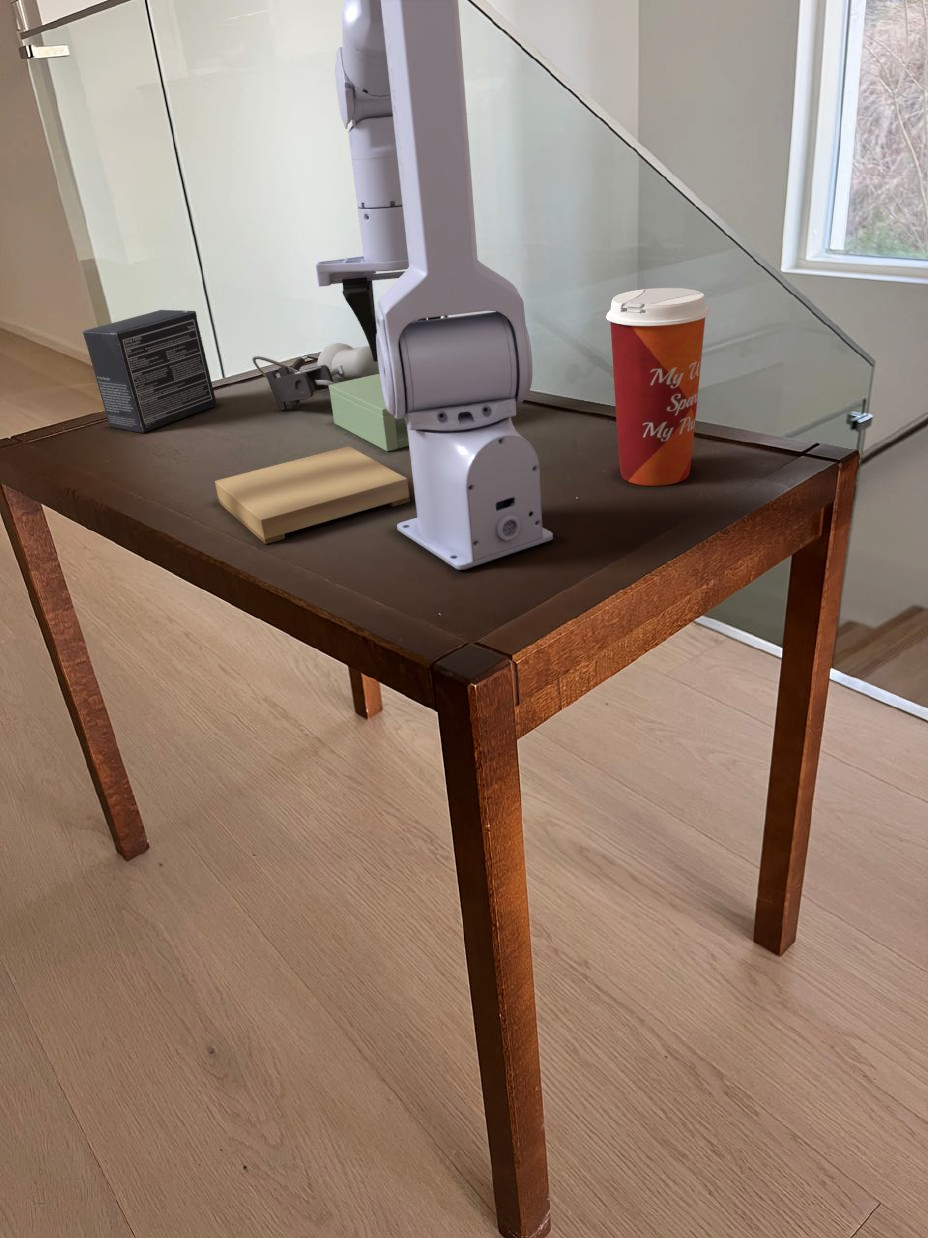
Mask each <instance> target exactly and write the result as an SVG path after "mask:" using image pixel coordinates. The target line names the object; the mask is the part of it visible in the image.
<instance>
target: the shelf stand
mask: <svg viewBox="0 0 928 1238" xmlns="http://www.w3.org/2000/svg"><path fill="white" fill-rule="evenodd" d="M328 391H329V396H330V404H331V410H332V417H333V424H334V425H337V426H339V427H340V428H342V429H344V430H346V431H347V432H350V433H352V434H353V435H356V436H357V437H359V438H361V439H363V440H364V441H366V442H369V443H370V444H372V445H374V446H376V447H377V448H380V449H382V450H383V451H385V452H391V451H395V450H398V449H402V448H407V447H409V440H408V431H407V423H406V421H405V419H404V418H403V419H396V418H395V417H394V415H392V414H390V413H389V412H388V411H387V408H386V405H385V401H384V396H383V391H382V386H381V380H380V373H379V374H375V375H371V376H367V377H362V378H358V379H353V380H349V381H345V382H340V383H336V384H331V385H329V390H328Z"/></svg>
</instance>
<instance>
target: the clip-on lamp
mask: <svg viewBox="0 0 928 1238" xmlns="http://www.w3.org/2000/svg"><path fill="white" fill-rule="evenodd" d="M307 359H308V356H307V355H305V356H302V357H299V358H297V359H296V360H295V361H294V362H293V364H292V365H291V366H289V365H286V364H284V363H282V362H279V361H278V360H277V361H276V360H274V359H271V358H268V357H265V356H261V355H254V356H253V357H252V358H251V360H252V363H253V364H254V366H255V367H256V369H257V370H258V371H259V372H260V373H261V374H262V376H264V377H265V378H266V379H267V382H268V384H269V387H270V390H271V393H272V396H273V398H274V401H275V404H276V407H277V409H278V411H285V410H287V409H288V404H287V402H289V404H290V406H297V405H300V404H301V401H300V400H303V399H304V400H305V399H310V398H313V396H314V394H318V393H322V392H325V391H330V390H329V385H331V384H336V383H340V382H345V381H349V380H353V379H358V378H362V377H367V376H371V375H375V374H380V373H379V365H378V362H374V361H373V356H372V353H371V349H370V346H369V345H365V346H360V347H352V346H351V345H349V344H347V343H342V342H338V343H332V344H330V345H327V346H325V347H324V349H323V350H322V351H321V352H320V353H319V356H318V358H317V364H316V366H313V367H309V368H306V369H304V368H302V367H303V366H304V364H305V363H306V360H307ZM256 360H260V361H265V362H266V363H267V362H268V363H269V364H273V365H275V366H277V367H279V368H278V369H277V371H278V374H279V377H278V376H277V373H276V372H275V370H269V371H267V372H264V370H263V369H262V368H261V367H260V365H259V364H258V362H257V361H256Z"/></svg>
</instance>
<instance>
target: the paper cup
mask: <svg viewBox="0 0 928 1238" xmlns="http://www.w3.org/2000/svg"><path fill="white" fill-rule="evenodd" d="M609 309H610V310H608V312H607V313H606V315H605V318H606V320H607V321H608V322H609V323H610V337H611V353H612V354H611V355H612V356H611V357H612V371H613V372H612V373H613V387H614V406H615V418H616V419H615V421H616V434H617V451H618V462H619V472H620V476H621V478H622V479H623V480H624V481H626V482H627V483H628V482H629V483H631V484H634V485H639V486H649V487H650V486H651V487H655V486H656V487H658V486H659V487H660V486H667V485H672V484H676V483H677V484H678V483H680V482H683V481H684V480H686V479H687V478H688V477H689V476H690V471H691V466H692V465H691V464H692V457H693V450H694V449H693V448H694V439H695V427H696V419H697V418H696V417H697V410H698V409H697V408H698V398H699V388H700V379H701V368H702V367H701V365H702V355H703V345H704V336H705V326H706V318H707V317H708V316H709V315H710V314H711V310H710V308H709V307H708V306H707V305H706V295H704V292H701V291H699V290H697V289H691V288H684V287H683V288H682V287H654V288H644V289H636V290H630V291H626V292H622V293H619V294H616V295H615V296H613V298H612V299H611V302H610V308H609Z"/></svg>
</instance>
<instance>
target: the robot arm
mask: <svg viewBox="0 0 928 1238" xmlns="http://www.w3.org/2000/svg"><path fill="white" fill-rule="evenodd" d="M341 30H342V32H341V42H342V43H341V44H342V45H341V46H340V47H338V48H337V51H336V52H335V64H334V65H335V67H334V76H335V77H334V78H335V88H336V96H337V103H338V109H339V113H340V117H341V120H342V123H343V127H344V128H345V130H347V129H348V125H349V124H350V123H352V124H351V126H350V128H349V129H348V132H347V133H348V143H349V149H350V157H351V166H352V174H353V183H354V189H355V198H356V205H357V213H358V222H359V229H360V237H361V238H360V239H361V245H362V256H355V257H354V256H353V257H347V258H340V259H333V260H323V261H318V262H317V263H316V265H315V271H316V277H317V283H318V287H319V288H320V287H329V286H331V285H337V284H339V285H340V284H342V291H341V292H342V295H343V297H344V300H345V301H346V303H347V304H348V306H349V307H350V309H351V311H352V313H353V314H354V316H355V317H356V320H357V321H358V323H359V325H360V327H361V329H362V331H363V334H364V336H365V338H366V341H367V343H368V346H370V349H371V353H372V356H373V361H374V362H378V365H379V374H380V380H381V386H382V391H383V396H384V401H385V405H386V408H387V411H388V412H389V413H390V414H392V415H394V417H395V418H396V419H403V418H404V419H405V421H406V423H407V431H408V440H409V446H408V447H409V448H408V449H409V456H410V465H411V474H412V483H413V492H414V500H415V509H416V517H413V518H411V519H408V520H404V521H401V522H399V523H397V524H396V530H397V531H398V532H400V533H402V534H403V535H404V536H405V537H407V538H409V539H411V540H412V541H413V542H415V543H416V544H418V545H420V546H421V547H422V548H424V549H426V550H427V551H428V552H430V553H431V554H433V555H434V556H436V557H438V558H439V559H440V560H442V561H444V562H445V563H446V564H448V565H450V566H451V567H453V568H454V569H456V570H458V571H465V570H468V569H471V568H474V567H477V566H479V565H483V564H486V563H488V562H491V561H494V560H497V559H500V558H503V557H506V556H509V555H512V554H515V553H518V552H521V551H523V550H527V549H529V548H532V547H535V546H539V545H542V544H545V543H548V542H550V541H552V540H553V539H554V533H553V532H552V531H550V530H548V529H547V528H544V527H543V511H542V510H543V509H542V490H541V489H542V488H541V468H540V460H539V456H538V454H537V452H536V449H535V448H534V447H533V445H532V444H531V443H530V442H529V441H528V440H527V439H526V438H524V437H523V436H522V435H521V434H520V433H519V432H518V431H517V430H516V427H515V426H514V424H513V420H512V417H516V416H517V406H516V405H517V404H520V403H523V402H524V400H526V397H527V395H528V394H529V393H530V391H531V388H532V385H533V354H532V346H531V341H530V335H529V331H528V328H527V327H528V326H527V321H526V315H525V314H526V313H525V303H524V299H523V298H522V296H521V294H520V292H519V291H518V288H517V287H516V285H514V284H513V283H512V282H511V281H509V279H507V278H505V277H504V276H502V275H501V274H499V273H498V272H496V271H494V270H493V269H491V268H490V267H488V266H486V264H484V263H482V262H481V261H480V260H479V259H478V246H477V245H478V244H477V233H476V231H477V230H476V220H475V219H476V217H475V207H474V205H475V204H474V194H473V193H474V192H473V180H472V167H471V154H470V153H471V152H470V140H469V127H468V114H467V100H466V87H465V75H464V62H463V47H462V35H461V34H462V33H461V19H460V8H459V0H343V4H342V9H341ZM377 272H378V273H377ZM395 279H396V280H395ZM385 280H395V281H394V282H393V284H391V285H390V287H389V288H388V289H387V290H385V292H384V293H383V294H382V295H381V296H380V297H379V298H378V300H377V303H376V304H377V305H376V306H377V307H376V306H375V298H374V297H375V296H374V284H373V282H374V281H385ZM480 312H482V313H480ZM472 313H473V314H472ZM475 313H476V314H475ZM462 314H464V315H462ZM465 314H466V315H465ZM454 315H456V316H454ZM445 316H449V317H445ZM375 318H376V320H375ZM423 318H427V320H424V321H416V320H419V319H423ZM412 321H416V322H412Z"/></svg>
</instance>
